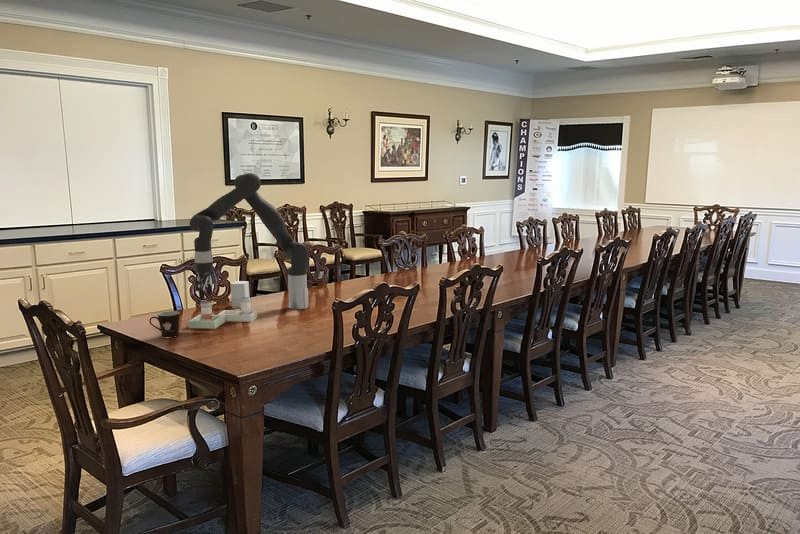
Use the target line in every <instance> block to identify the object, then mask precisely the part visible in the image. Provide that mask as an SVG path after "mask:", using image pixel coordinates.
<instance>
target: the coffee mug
mask: <svg viewBox="0 0 800 534" xmlns="http://www.w3.org/2000/svg"><path fill="white" fill-rule="evenodd" d="M152 319H156V320H157V321H158V322H159V326H160V327H158V326H156V325H154V324H153V323H152ZM148 321H149V322H148V323H149V324H150V325H151V326H152V327H153V328H155V329H156V330H159V331H160V333H161V337H162V336H163V337H174V336H178V337H179V332H180V331H179V329H180V327H179V326H180V312H179V311H178V310H167V311H162V312H159V313H157V316H151V317H150V319H149V320H148Z"/></svg>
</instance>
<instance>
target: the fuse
mask: <svg viewBox="0 0 800 534" xmlns="http://www.w3.org/2000/svg"><path fill="white" fill-rule="evenodd" d="M251 302H252V301H251V297H250V296H249V297H242V298H240V304H241V308H240V311H241V314H242V315H250V314H251V311H252V310H251Z"/></svg>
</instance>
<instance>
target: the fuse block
mask: <svg viewBox="0 0 800 534" xmlns="http://www.w3.org/2000/svg"><path fill="white" fill-rule="evenodd" d="M216 315H225V322H240V323H241V322H245V323H247V322H248V323H249V322H250V323H251V322H253V321H255V320H256V319H257V318H258V311H257V310H251V314H250V315H242V314H241V310H226V309H225V310H222V311H221V312H218V314H216Z"/></svg>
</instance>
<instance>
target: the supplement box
mask: <svg viewBox="0 0 800 534" xmlns="http://www.w3.org/2000/svg"><path fill="white" fill-rule="evenodd" d="M249 282H250V281H247V280H246V281H245V280H235V281H233V282H231V283H230V300H231V308H233V309H236V308H237V309H241V304H240V298H242V297H250V284H249Z"/></svg>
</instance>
